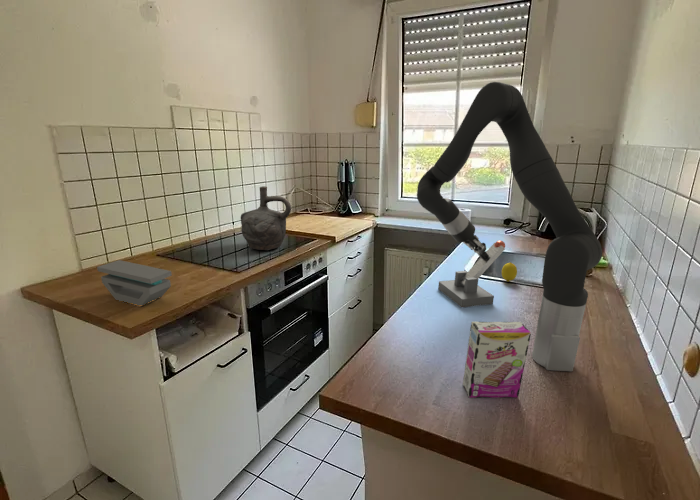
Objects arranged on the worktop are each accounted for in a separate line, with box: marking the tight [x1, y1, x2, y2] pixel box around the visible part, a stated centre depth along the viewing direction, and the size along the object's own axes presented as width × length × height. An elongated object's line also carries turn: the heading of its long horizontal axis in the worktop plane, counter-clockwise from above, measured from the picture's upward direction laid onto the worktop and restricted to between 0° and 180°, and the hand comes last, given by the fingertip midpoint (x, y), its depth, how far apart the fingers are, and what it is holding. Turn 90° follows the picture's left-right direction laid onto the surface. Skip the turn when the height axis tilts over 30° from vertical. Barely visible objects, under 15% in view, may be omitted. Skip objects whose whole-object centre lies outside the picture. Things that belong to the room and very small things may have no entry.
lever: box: [460, 240, 506, 286], centre depth 130 cm, size 4×4×20 cm
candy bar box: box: [462, 321, 532, 399], centre depth 81 cm, size 11×5×16 cm, turn 92°
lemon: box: [501, 261, 518, 282], centre depth 145 cm, size 6×6×8 cm
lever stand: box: [437, 270, 495, 308], centre depth 131 cm, size 16×12×8 cm
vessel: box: [240, 186, 292, 251], centre depth 180 cm, size 24×22×30 cm
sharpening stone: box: [96, 259, 173, 306], centre depth 125 cm, size 25×8×11 cm, turn 66°
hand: (485, 257), depth 130 cm, fingers closed
